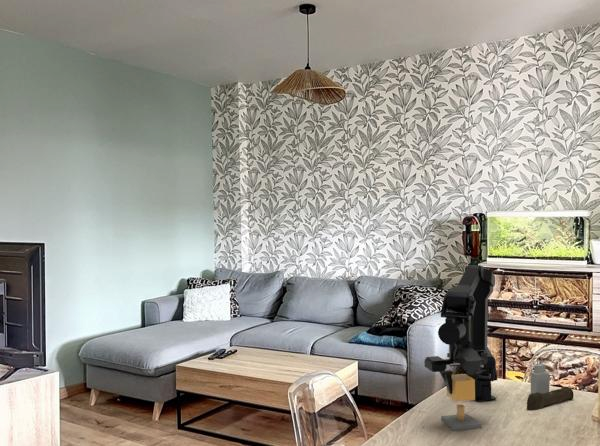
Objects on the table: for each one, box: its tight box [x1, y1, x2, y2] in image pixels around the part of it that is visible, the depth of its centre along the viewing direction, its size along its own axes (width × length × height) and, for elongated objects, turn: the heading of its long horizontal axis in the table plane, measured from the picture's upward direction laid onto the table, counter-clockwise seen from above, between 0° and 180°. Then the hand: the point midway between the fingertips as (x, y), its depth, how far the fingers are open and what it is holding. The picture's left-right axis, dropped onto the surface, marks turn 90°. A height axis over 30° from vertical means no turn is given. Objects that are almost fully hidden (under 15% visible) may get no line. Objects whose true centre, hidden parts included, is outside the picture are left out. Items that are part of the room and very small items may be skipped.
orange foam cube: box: [446, 373, 476, 402], centre depth 154 cm, size 6×6×6 cm
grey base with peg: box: [440, 404, 482, 431], centre depth 154 cm, size 8×8×5 cm
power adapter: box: [530, 356, 550, 394], centre depth 176 cm, size 3×5×12 cm, turn 111°
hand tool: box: [526, 386, 575, 411], centre depth 168 cm, size 19×4×5 cm, turn 117°
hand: (460, 392), depth 154 cm, fingers closed on orange foam cube, 6 cm apart
